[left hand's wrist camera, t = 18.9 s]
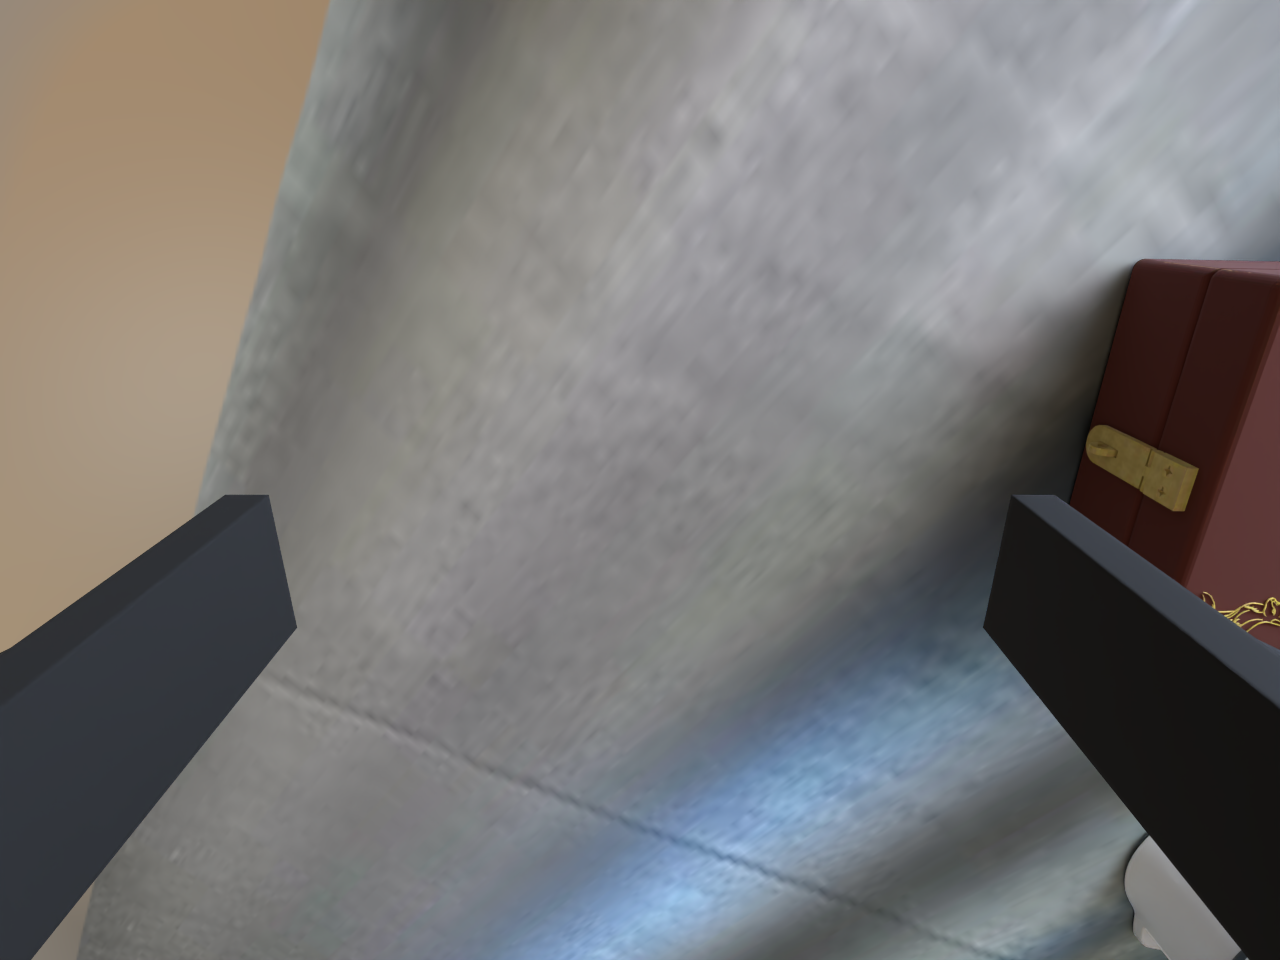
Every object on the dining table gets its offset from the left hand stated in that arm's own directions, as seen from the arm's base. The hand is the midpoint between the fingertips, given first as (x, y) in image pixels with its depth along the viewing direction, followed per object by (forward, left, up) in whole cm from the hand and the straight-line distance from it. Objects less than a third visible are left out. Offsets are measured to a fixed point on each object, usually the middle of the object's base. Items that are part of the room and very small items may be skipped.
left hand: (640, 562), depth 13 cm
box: (-11, +34, -30) cm, 47 cm away
